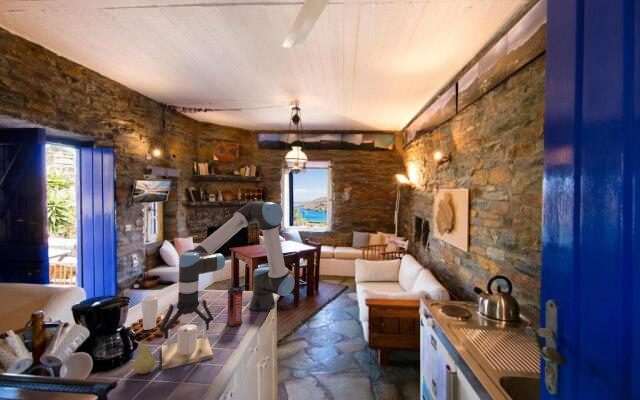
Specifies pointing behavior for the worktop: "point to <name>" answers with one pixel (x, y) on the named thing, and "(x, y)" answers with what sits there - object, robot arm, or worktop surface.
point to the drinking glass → (149, 311)
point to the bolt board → (175, 359)
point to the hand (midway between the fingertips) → (186, 341)
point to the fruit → (144, 360)
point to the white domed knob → (186, 339)
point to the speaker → (234, 306)
